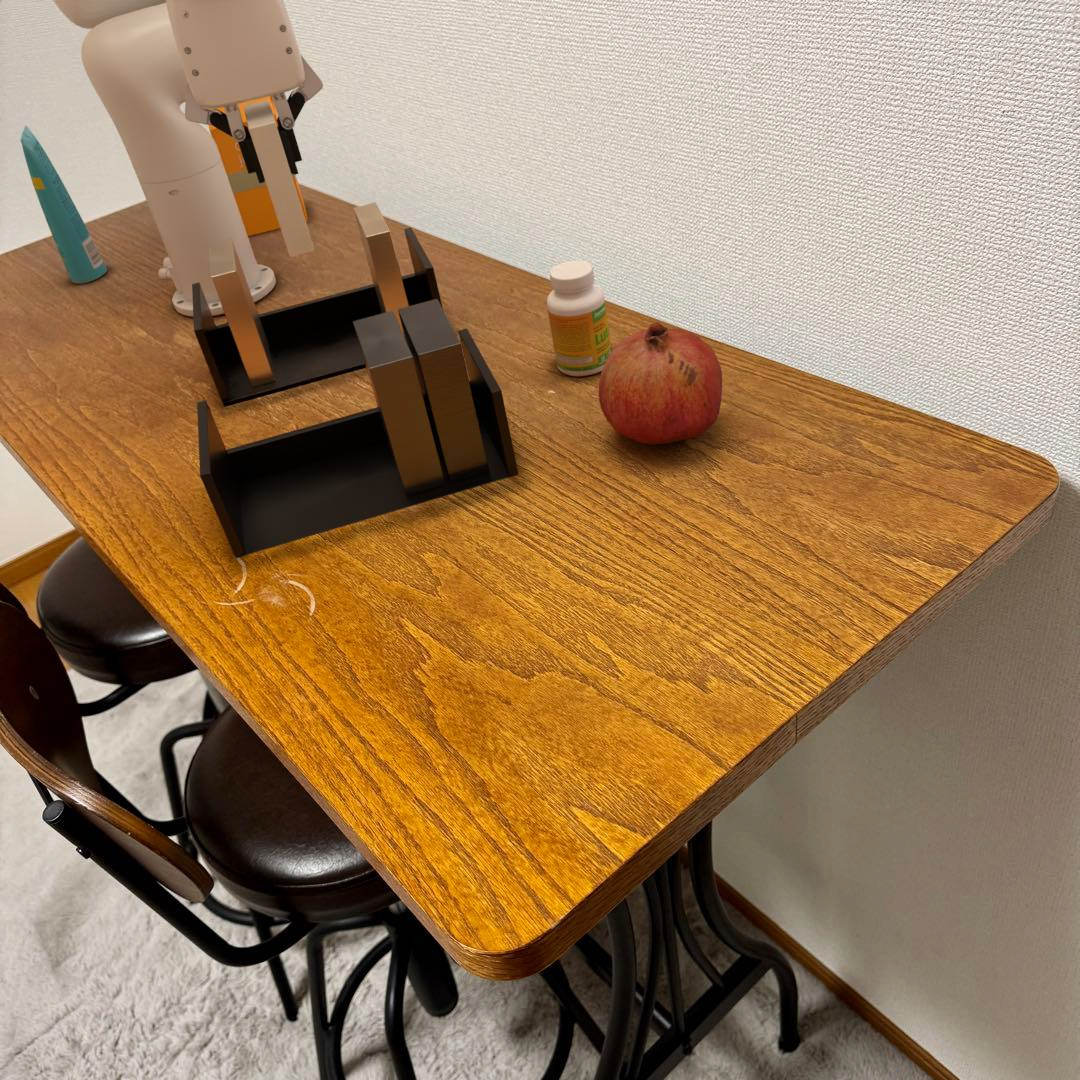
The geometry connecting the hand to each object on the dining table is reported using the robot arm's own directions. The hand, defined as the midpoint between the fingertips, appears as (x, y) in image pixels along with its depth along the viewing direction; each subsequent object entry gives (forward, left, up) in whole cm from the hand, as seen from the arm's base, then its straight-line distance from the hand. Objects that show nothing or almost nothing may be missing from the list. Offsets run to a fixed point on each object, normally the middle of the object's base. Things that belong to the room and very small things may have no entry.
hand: (277, 173), depth 99 cm
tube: (-50, +13, -20) cm, 55 cm away
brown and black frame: (0, 0, -19) cm, 19 cm away
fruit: (+40, -7, -20) cm, 45 cm away
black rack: (+18, -20, -19) cm, 33 cm away
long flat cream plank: (0, 0, -7) cm, 7 cm away
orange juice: (-33, +33, -20) cm, 51 cm away
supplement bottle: (+28, +3, -20) cm, 34 cm away
